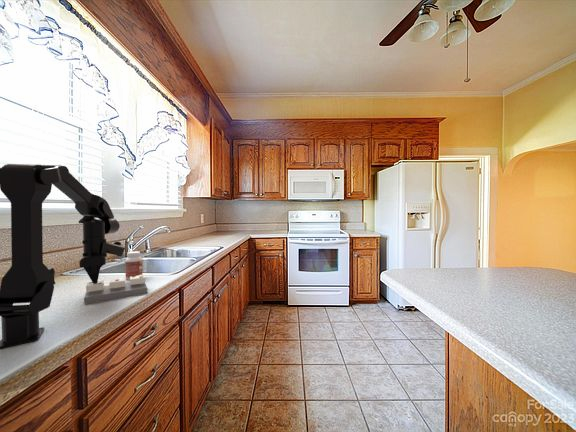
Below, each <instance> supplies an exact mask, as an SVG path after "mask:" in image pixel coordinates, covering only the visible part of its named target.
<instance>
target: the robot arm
mask: <svg viewBox="0 0 576 432" xmlns="http://www.w3.org/2000/svg"><path fill="white" fill-rule="evenodd" d="M53 186H54V187H55V188H57V190H59V191H60V192H61V193H63V194H64V195H65V196H66V197H67V198H68V199H70V200H71V201H72V202H73V203H74V209H75V210H77V212H78V213H79V214H80V215H81V216H83V217H81V219H79V220H78V223H79V224H82V241H81V243H82V247H83V248H82V249H83V250H82V251H83V252H82V258H80V260H79V263H78V264H79V268H83V269H84V270H85V272H86V274H87V276H88V277H89V279H90V281H91V282H93V283H97V282H98V281H99V276H100V273H101V268H102V267H103V266H104V265H106V263H107V257H108V254H109V255H115V256H117V257H123V256H124V255H123V254H124V252H125V250H126V246H124V245H122V243H121V241H118V240H116V241H114V242H111V243H110V242H107V239H106V235H109V234H115V233H117V232H118V231H119V230H120V227H121V226H120V223H119V221H118V220H117V219H116V218H115V216H114V213H113V211H112V209H111V207H110V205H109V203H108V201H107V200H106V199H105V198H104V197H102V196H101V195H98V194H95V193H92V192H91V191H89V190H88V189H87V188H86V187H85V186H84V185H83V184H82V183H81V182H80V181H79V180H78V179H77V178H76V177H75V176H74V175H73V174H72V173H71V172H70V170H69V168H68V167H67V166H66V165H63V164H51V163H50V164H47V163H46V164H27V163H23V164H22V163H7V164H4V165H2V166H1V167H0V191H1V192H2V194H3V195H4V196H5V197H6V199H7V200H8V201H9V202H10V228H11V229H10V234H11V235H10V236H11V238H10V240H11V241H10V242H11V243H10V245H11V246H10V247H11V266H10V268H9V269H8V270H7V271H6V273H5V274H4V275H3V276H2V278H1V280H0V318H1V320H0V322H1V339H0V349H4V348H9V347H13V346H14V347H15V346H17V345H22V344H26V343H27V344H28V343H31V342H35V341H38V340H39V339H40V337H41V336H42V335H43V333H44V331H45V327H40V312H43V311H44V310H46V309H48V308H50V307H51V302H52V298H53V296H54V295H53V294H54V290H55V285H56V281H55V280H56V279H55V273H56V271H55V269H54V268H53V267H48V266H46V264H44V260H43V258H44V257H43V254H44V251H43V203H44V201H45V200H46V199H47V197H48V196H49V195H50V194H51V192H52V187H53ZM28 303H29V304H28ZM14 304H15V305H14Z"/></svg>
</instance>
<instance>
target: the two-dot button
mask: <svg viewBox="0 0 576 432" xmlns="http://www.w3.org/2000/svg"><path fill="white" fill-rule="evenodd" d="M129 282H130V284H131V285H135V284H141V283H145V284H146V276H145V274H143V275H138V276H131V277H130V280H129Z"/></svg>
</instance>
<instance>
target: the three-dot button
mask: <svg viewBox="0 0 576 432" xmlns="http://www.w3.org/2000/svg"><path fill="white" fill-rule="evenodd" d="M104 286H105V280H98V282H97V283H93V282H92V281H91V282H87V283H86V286H85V289H86V291H85V293H86V292H91V291H98V290H104Z"/></svg>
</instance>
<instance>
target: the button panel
mask: <svg viewBox="0 0 576 432" xmlns="http://www.w3.org/2000/svg"><path fill="white" fill-rule="evenodd" d="M144 293H146V294H148V287H147V284H146V282H145V283H141V284H135V285H131V284H130V281H129V282H125V286H124V287H118V288H111V289H109V284H108V285H104V290H98V291H91V292H86V291H85V295H84V297H83V298H84V299H83V300H84V301H83V304H84V305H87V304H93V303H97V302H98V303H99V302H105V301H110V300H115V299H121V298H127V297H133V296H138V295H145V294H144Z"/></svg>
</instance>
